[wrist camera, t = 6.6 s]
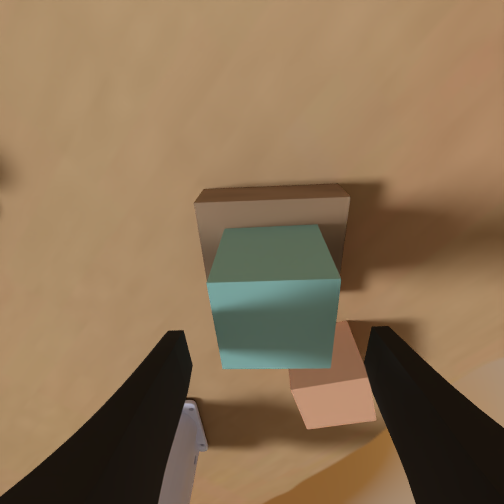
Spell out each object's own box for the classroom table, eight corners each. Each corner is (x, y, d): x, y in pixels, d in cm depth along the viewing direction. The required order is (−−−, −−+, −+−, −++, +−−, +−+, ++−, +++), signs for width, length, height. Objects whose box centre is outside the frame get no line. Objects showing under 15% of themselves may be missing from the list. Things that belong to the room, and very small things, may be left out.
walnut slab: (324, 288, 20) (334, 316, 17) (219, 290, 20) (213, 317, 18) (335, 181, 16) (350, 196, 13) (205, 187, 16) (194, 203, 14)
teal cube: (313, 298, 16) (330, 368, 12) (233, 300, 17) (222, 369, 12) (317, 224, 14) (341, 278, 10) (224, 228, 14) (206, 283, 10)
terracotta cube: (355, 360, 23) (376, 420, 19) (299, 370, 24) (307, 429, 19) (346, 319, 21) (368, 377, 16) (285, 332, 22) (290, 389, 17)
